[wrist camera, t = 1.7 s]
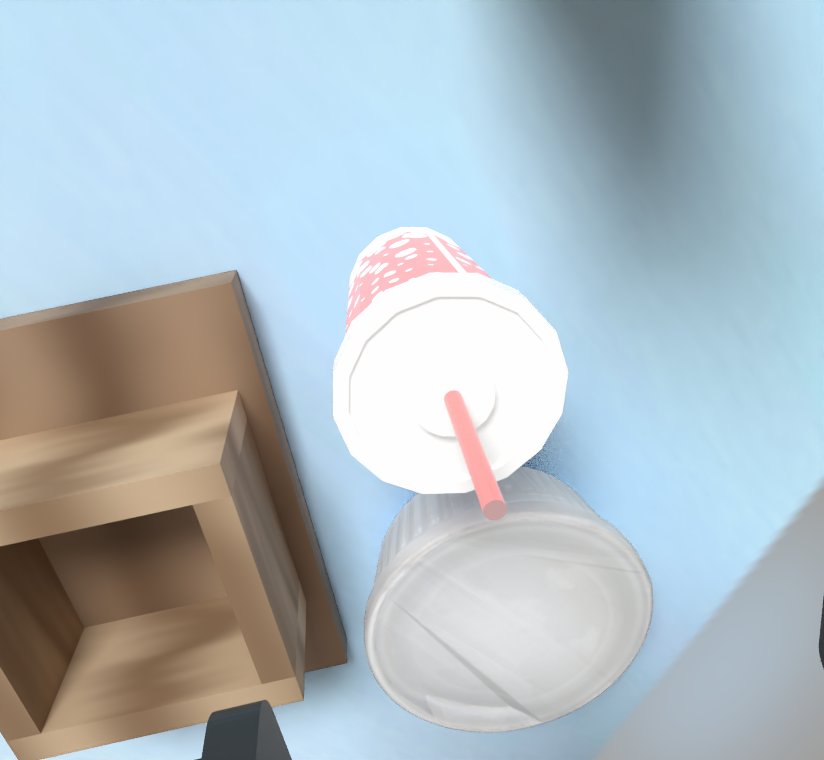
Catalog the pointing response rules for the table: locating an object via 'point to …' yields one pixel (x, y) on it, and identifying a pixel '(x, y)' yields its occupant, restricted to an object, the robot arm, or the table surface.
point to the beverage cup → (443, 370)
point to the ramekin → (504, 606)
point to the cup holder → (149, 523)
